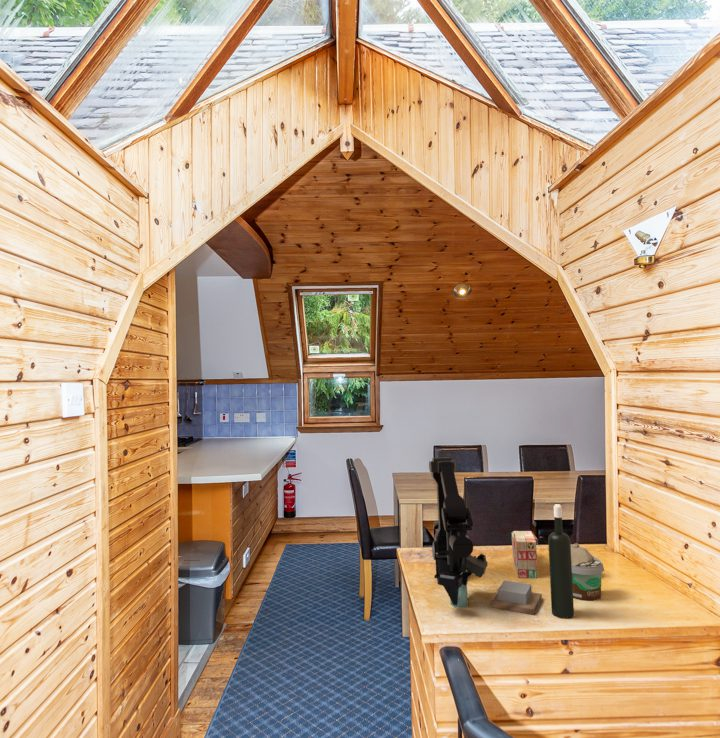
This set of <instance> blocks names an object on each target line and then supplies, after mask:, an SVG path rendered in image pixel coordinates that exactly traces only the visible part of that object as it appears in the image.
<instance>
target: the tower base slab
mask: <svg viewBox="0 0 720 738" xmlns="http://www.w3.org/2000/svg"><path fill="white" fill-rule="evenodd" d="M542 600H543V597H542V593H539V592H535V591H534V592H533V591H532V595H531V597H530V599H529V601H528V603H527V604H526V605H524V604H518V603H512V602H506V601H499V600H498V592H496V594H495V595H494V597H493V598H492V600H491V601H490V609H493V610H494V609H495V610H500V611H504V612H505V611H506V612H511V613H512V612H513V613H517V614H523V615H529V616H536V615H535V614H536V612H537V611H538V608H539V607H540V604H541V602H542Z"/></svg>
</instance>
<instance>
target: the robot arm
mask: <svg viewBox="0 0 720 738" xmlns="http://www.w3.org/2000/svg"><path fill="white" fill-rule="evenodd" d="M428 469H429V473H430V475H431V477H432V479H433V481H435V484H436V500H437V522H438V527H437V529H436V532H435V534H434V540H433V541H432V545H431V546H432V547H431V554H432V558H433V560H434V561H435V575H434V578H435V579H437V580H436V581H437V584H438V586H442V587H443V588H444V590H445V591H446V594H447V595H448V596H449V600H450V599H451V601H452V603H453V605H457V602H458V593H459V587H461V586H462V584H463V585H466V586H467V587H468V581H469V578H470V577H471V576H472V575H475V576H476V577H477V578H482V577H483V576H484V575H485V573H486V570H487V568H488V566H489V565H488V561H487V556H486V555H485V554H483V553H480V554H478V556H477V555H472V553H473V551H474V544H473V542H472V540H471V539H470V537H469V535H468V531H472V530H473V526H474V523H473V519H472V513H471V511H470V509H469V507H468V506H467V504H466V501H465V499H464V498H463V497H462V496H461V495H460V492H459V489H458V483H457V480H456V475H455V472H457V463H456V460H454V459H453V460H452V459H451V457H450V456H449V457H448V456H447V457H432V459H431V460H429V462H428Z"/></svg>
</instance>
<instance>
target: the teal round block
mask: <svg viewBox="0 0 720 738" xmlns="http://www.w3.org/2000/svg"><path fill="white" fill-rule="evenodd" d="M468 600H469V599H468V585H467V586H466V585H463V584H462V586H461V587H459V593H458V602H457V605H453V603H452V601H451V599H450V598H449V603H450V605H452V607H453V606H454V607H453V608H457V607H459V609H460V608H461V609H463V608H467V606H468V605H469V604H468V603H469V601H468Z"/></svg>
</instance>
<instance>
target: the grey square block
mask: <svg viewBox="0 0 720 738" xmlns="http://www.w3.org/2000/svg"><path fill="white" fill-rule="evenodd" d="M497 592H498V600H499V601H506V602H512V603H518V604H524V605H526V604H527V603H528V601H529V599H530V597H531V595H532V592H533V590H532V584H531V583H527V582H526V583H525V582H524V583H523V582H518V581H512V580H503V581H502V582H501V584H500V585H499V586H498V588H497ZM497 592H496V593H497Z"/></svg>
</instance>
